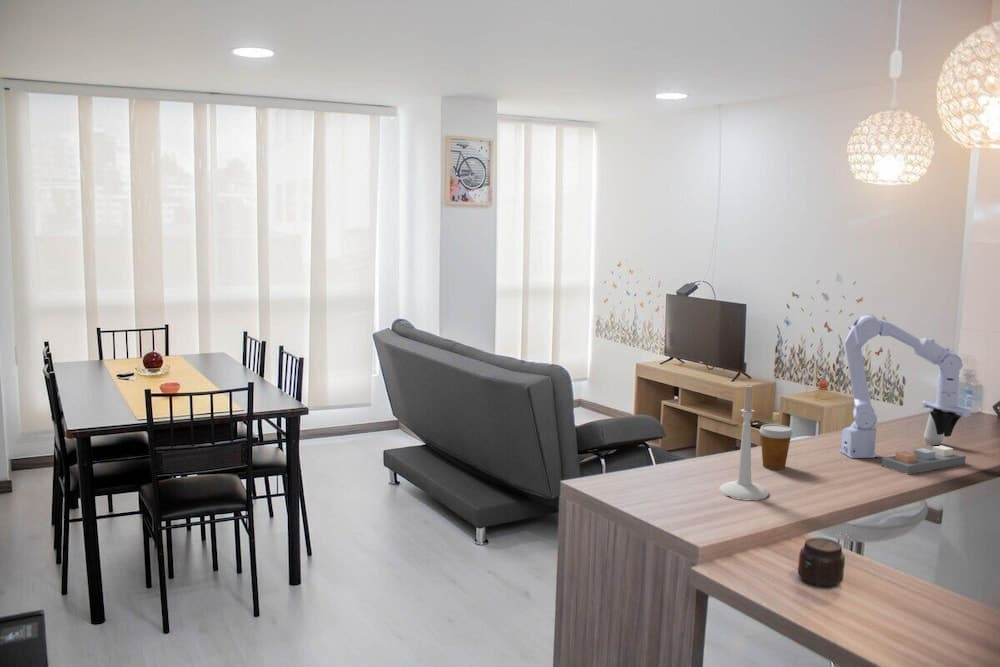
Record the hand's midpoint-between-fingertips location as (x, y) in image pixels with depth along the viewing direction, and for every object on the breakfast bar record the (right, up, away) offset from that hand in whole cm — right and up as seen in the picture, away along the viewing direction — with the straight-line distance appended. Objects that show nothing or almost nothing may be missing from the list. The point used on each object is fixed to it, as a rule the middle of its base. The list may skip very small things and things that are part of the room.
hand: (943, 435), depth 253 cm
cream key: (0, -6, +1) cm, 6 cm away
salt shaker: (+8, -6, +21) cm, 23 cm away
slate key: (-7, -7, -2) cm, 10 cm away
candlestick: (-69, -12, -28) cm, 76 cm away
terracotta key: (-14, -7, -6) cm, 17 cm away
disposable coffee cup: (-53, -9, -4) cm, 54 cm away
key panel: (-7, -9, -2) cm, 12 cm away
